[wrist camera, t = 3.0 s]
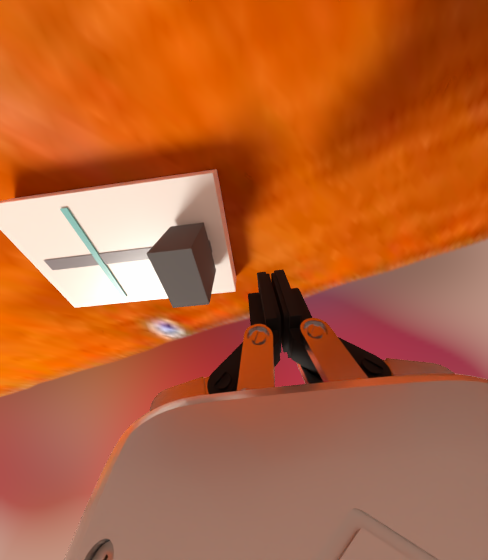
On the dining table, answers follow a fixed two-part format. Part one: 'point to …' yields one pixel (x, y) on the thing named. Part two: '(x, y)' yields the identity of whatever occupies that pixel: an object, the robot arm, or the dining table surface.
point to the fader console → (116, 235)
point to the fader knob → (184, 264)
